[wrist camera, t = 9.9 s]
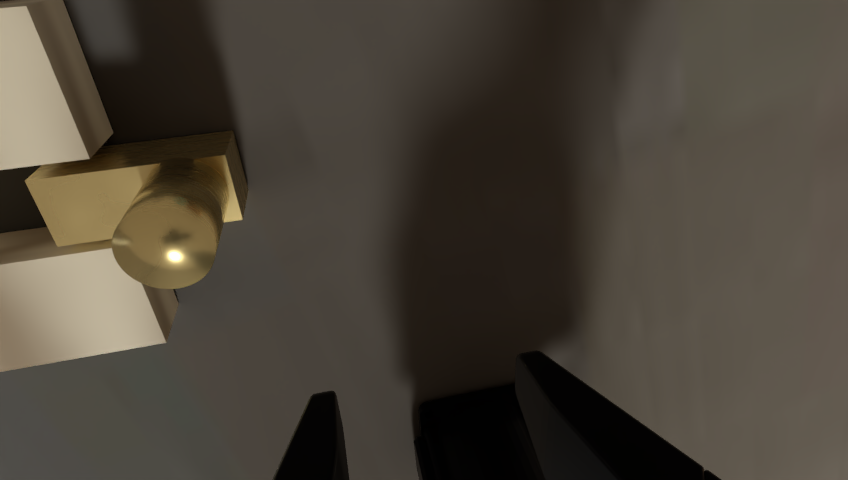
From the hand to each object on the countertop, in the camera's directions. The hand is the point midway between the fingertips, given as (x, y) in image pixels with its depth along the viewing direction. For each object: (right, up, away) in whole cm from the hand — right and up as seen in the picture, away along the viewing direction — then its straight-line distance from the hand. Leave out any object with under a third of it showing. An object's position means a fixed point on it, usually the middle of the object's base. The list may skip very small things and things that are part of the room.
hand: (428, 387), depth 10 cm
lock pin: (-10, +5, +10) cm, 15 cm away
